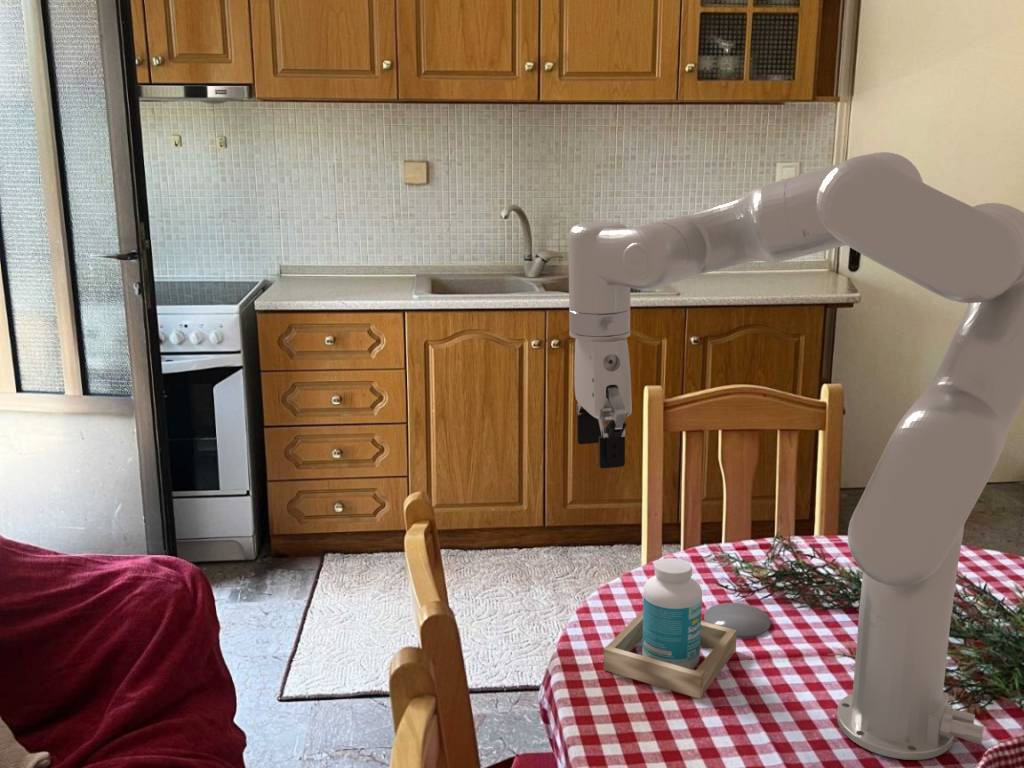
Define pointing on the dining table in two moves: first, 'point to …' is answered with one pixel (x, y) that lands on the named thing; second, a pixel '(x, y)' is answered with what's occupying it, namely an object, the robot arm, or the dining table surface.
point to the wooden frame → (665, 673)
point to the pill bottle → (672, 614)
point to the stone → (739, 619)
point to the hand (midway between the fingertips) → (600, 454)
